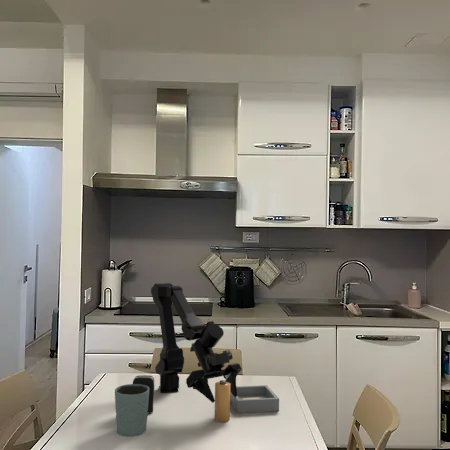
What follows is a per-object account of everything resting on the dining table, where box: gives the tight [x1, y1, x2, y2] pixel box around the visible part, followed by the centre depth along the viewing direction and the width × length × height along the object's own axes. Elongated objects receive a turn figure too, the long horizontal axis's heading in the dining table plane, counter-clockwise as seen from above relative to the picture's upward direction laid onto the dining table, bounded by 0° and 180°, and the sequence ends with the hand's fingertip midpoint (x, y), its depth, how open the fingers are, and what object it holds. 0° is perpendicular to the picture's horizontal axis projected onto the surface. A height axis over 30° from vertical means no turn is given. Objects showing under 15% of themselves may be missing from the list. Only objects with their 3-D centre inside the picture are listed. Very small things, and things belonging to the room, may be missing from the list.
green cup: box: [114, 383, 149, 437], centre depth 140 cm, size 10×10×12 cm
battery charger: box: [132, 375, 155, 414], centre depth 155 cm, size 7×4×11 cm, turn 93°
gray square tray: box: [230, 384, 280, 414], centre depth 164 cm, size 14×14×4 cm
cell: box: [213, 379, 231, 423], centre depth 150 cm, size 5×5×12 cm
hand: (225, 399), depth 149 cm, fingers open, 8 cm apart
